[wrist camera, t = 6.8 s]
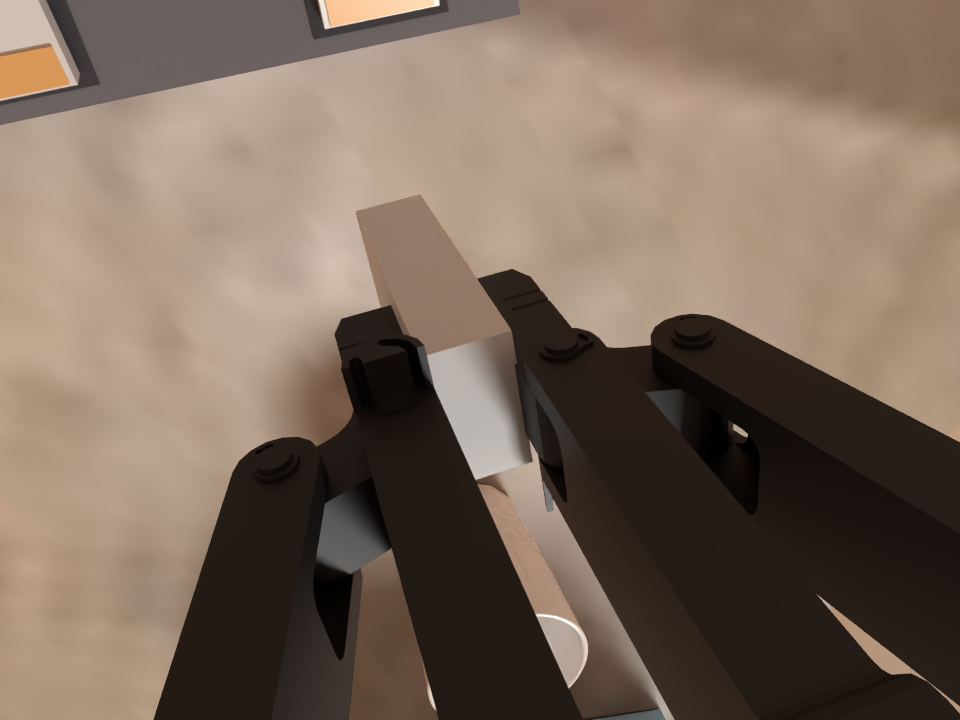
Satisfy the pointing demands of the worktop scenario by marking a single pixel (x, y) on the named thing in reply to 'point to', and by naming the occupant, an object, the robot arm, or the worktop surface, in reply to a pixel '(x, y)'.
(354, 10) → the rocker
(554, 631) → the white cup
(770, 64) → the worktop surface
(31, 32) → the rocker
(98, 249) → the worktop surface
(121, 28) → the rocker switch panel
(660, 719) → the gum box
